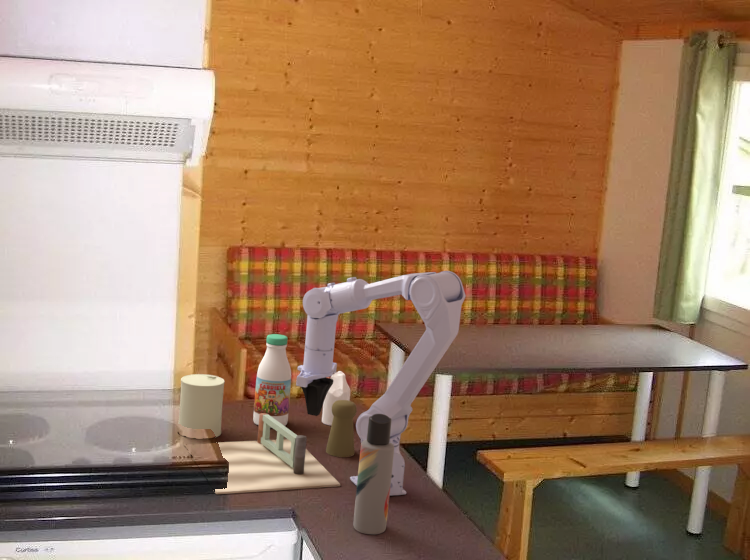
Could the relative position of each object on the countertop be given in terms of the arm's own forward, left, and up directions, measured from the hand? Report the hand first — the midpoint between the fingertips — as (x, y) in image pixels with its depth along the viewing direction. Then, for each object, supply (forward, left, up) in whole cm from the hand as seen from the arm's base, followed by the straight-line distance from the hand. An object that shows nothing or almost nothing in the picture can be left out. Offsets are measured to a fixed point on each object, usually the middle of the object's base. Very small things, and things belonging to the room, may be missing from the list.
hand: (313, 414), depth 198 cm
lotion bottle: (-31, 0, -11) cm, 33 cm away
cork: (+6, -9, -11) cm, 15 cm away
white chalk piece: (+25, -15, -11) cm, 31 cm away
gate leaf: (+4, +5, -9) cm, 12 cm away
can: (+22, +17, -11) cm, 30 cm away
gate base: (+1, +10, -10) cm, 14 cm away
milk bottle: (+26, 0, -11) cm, 28 cm away
